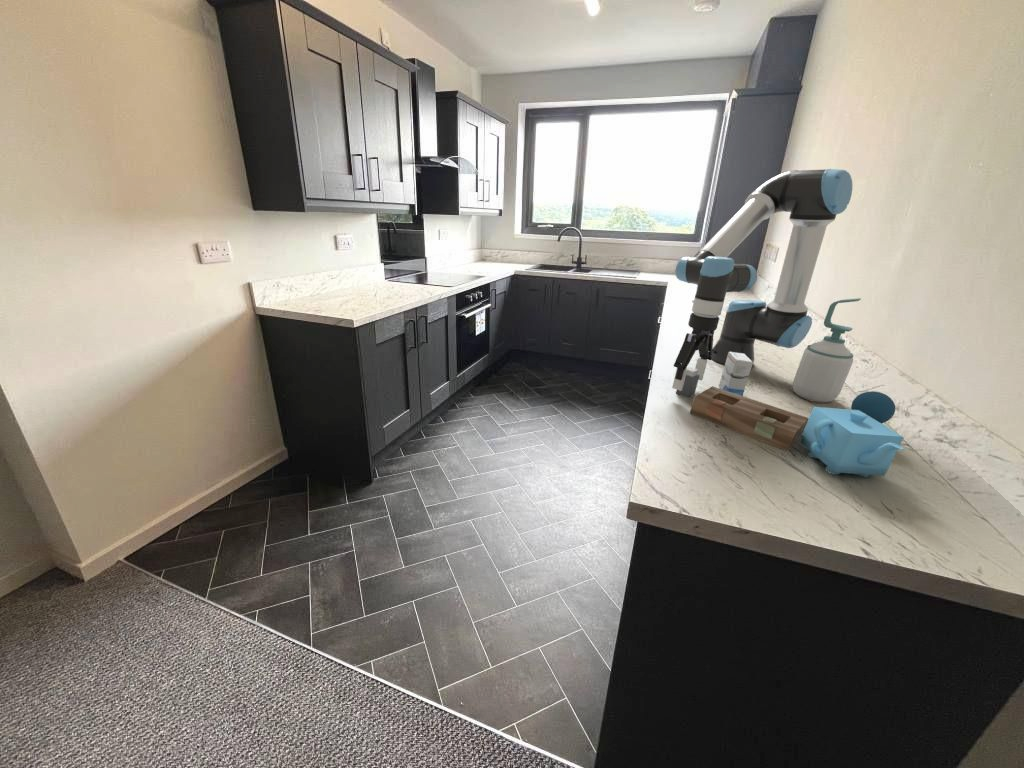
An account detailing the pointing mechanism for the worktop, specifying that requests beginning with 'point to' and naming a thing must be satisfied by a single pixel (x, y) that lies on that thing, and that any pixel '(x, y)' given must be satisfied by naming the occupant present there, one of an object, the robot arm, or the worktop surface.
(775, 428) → the socket block
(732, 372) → the ink box
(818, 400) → the soap bottle
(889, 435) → the teapot
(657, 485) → the worktop surface
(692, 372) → the plug
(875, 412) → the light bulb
